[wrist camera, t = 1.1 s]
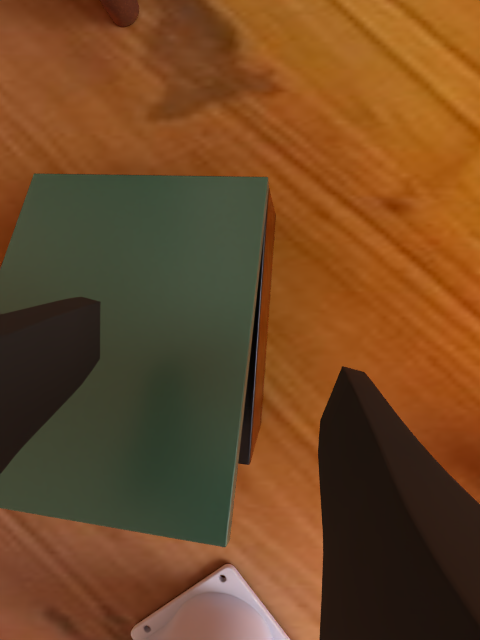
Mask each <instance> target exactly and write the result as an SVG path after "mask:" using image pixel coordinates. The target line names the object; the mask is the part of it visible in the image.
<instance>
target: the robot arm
mask: <svg viewBox="0 0 480 640" xmlns="http://www.w3.org/2000/svg"><path fill="white" fill-rule="evenodd" d="M100 303H101V302H100V301H96V300H92V299H88V298H85V297H74V298H68V299H63V300H59V301H54V302H50V303H46V304H42V305H38V306H33V307H29V308H25V309H21V310H17V311H13V312H9V313H4V314H0V474H1V473H2V472H3V470H4V469H5V468H6V467H7V465H8V464H9V463H10V461H11V460H12V459H13V458H14V456H15V455H16V454H17V453H18V452H19V451H20V450H21V448H22V447H23V446H24V445H25V444H26V443H27V442H28V441H29V440H30V439H31V438H32V436H33V435H34V434H35V433H36V432H37V431H38V430H39V429H40V428H41V427H42V426H43V425H44V424H45V423H46V422H47V421H48V420H49V419H50V418H51V417H52V416H53V415H54V414H55V413H56V411H57V410H58V409H59V408H60V407H61V406H62V405H63V404H64V403H65V402H66V401H67V400H68V399H69V398H70V397H71V396H72V395H73V394H74V392H75V391H76V390H77V389H78V388H79V387H80V386H81V385H82V384H83V382H84V381H85V379H86V378H87V377H88V375H89V374H90V373H91V371H92V370H93V368H94V367H95V365H96V364H97V362H98V361H99V360H100ZM318 459H319V477H320V493H321V509H322V525H323V577H322V602H321V622H320V640H480V504H479V503H478V502H477V501H476V500H475V499H474V498H472V497H471V496H470V495H469V494H468V493H467V492H466V491H465V490H464V489H463V488H462V487H461V486H460V485H459V484H458V483H457V482H456V481H455V480H454V479H453V478H452V477H451V476H450V475H449V474H448V473H447V472H446V471H445V470H444V469H443V467H442V466H441V465H440V464H439V463H438V462H437V461H436V460H435V459H434V458H433V457H432V455H431V454H430V453H429V452H428V451H427V450H426V449H425V448H424V446H423V445H422V444H421V443H420V442H419V441H418V440H417V438H416V437H415V436H414V435H413V434H412V432H411V431H410V430H409V429H408V428H407V426H406V425H405V424H404V423H403V421H402V420H401V419H400V418H399V416H398V415H397V414H396V412H395V411H394V410H393V409H392V407H391V406H390V405H389V403H388V402H387V401H386V399H385V398H384V397H383V395H382V394H381V393H380V391H379V390H378V389H377V387H376V386H375V385H374V384H373V382H372V381H371V380H370V378H369V377H368V376H367V375H366V374H365V372H362V371H358V370H354V369H351V368H347V367H343V366H342V369H341V371H340V374H339V376H338V378H337V381H336V383H335V386H334V388H333V391H332V393H331V396H330V398H329V401H328V403H327V406H326V408H325V410H324V413H323V415H322V418H321V420H320V432H319V447H318ZM220 575H224V576H225V578H223V577H221V576H220ZM148 626H149V627H148ZM131 637H132V639H133V640H290V638H289V637H288V636H287V634H286V633H285V632H284V631H283V629H282V628H281V627H280V625H279V624H278V623H277V621H276V620H275V619H274V618H273V616H272V615H271V614H270V612H269V611H268V610H267V608H266V607H265V606H264V605H263V603H262V602H261V601H260V599H259V598H258V597H257V595H256V594H255V593H254V592H253V590H252V589H251V588H250V586H249V585H248V584H247V582H246V581H245V580H244V579H243V577H242V576H241V575H240V573H239V572H238V571H237V569H236V568H235V567H234V566H233V565H231V564H225V565H224V566H222V567H221V568H219V569H218V570H216V571H215V572H213V573H212V574H210V575H209V576H207V577H206V578H204V579H203V580H201V581H200V582H198V583H197V584H196V585H194V586H193V587H191V588H190V589H188V590H187V591H185V592H184V593H182V594H181V595H179V596H178V597H176V598H175V599H173V600H172V601H170V602H169V603H167V604H166V605H164V606H163V607H162V608H160V609H159V610H157V611H156V612H154V613H153V614H151V615H150V616H148V617H147V618H145V619H144V620H142V621H141V622H139V623H138V624H136V625H135V626H134V627H133V629H132V631H131Z"/></svg>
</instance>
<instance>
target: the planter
mask: <svg viewBox="0 0 480 640" xmlns="http://www.w3.org/2000/svg"><path fill="white" fill-rule="evenodd" d="M100 2H101V3H102V5H103V7H104V8H105V10H106V11H107V13H108V14H109V16H110V17H111V19H112V20H113V22H114V23H115V24H117V25H118V26H122V27H124V26H128V25H131V24H132V23H133V22H134V21H135V20H136V18H137V16H138V13H139V5H138V2H137V0H100Z"/></svg>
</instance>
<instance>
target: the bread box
mask: <svg viewBox="0 0 480 640" xmlns="http://www.w3.org/2000/svg"><path fill="white" fill-rule="evenodd" d="M275 218H276V215H275V211H274V206H273V202H272V198H271V194H270V190H269V191H268V200H267V209H266V218H265V227H264V236H263V245H262V254H261V263H260V272H259V281H258V290H257V299H256V308H255V317H254V326H253V335H252V344H251V353H250V362H249V371H248V380H247V389H246V398H245V407H244V416H243V425H242V434H241V443H240V452H239V461H238V463H240V464H247V465H249V464H250V462H251V458H252V455H253V451H254V447H255V444H256V440H257V436H258V432H259V429H260V425H261V416H262V402H263V388H264V373H265V359H266V345H267V331H268V317H269V303H270V289H271V274H272V260H273V246H274V232H275Z"/></svg>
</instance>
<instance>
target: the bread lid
mask: <svg viewBox="0 0 480 640" xmlns="http://www.w3.org/2000/svg"><path fill="white" fill-rule="evenodd" d="M268 191H269V185H268V177H228V176H161V175H94V174H34V175H33V178H32V181H31V184H30V187H29V189H28V192H27V195H26V198H25V201H24V204H23V206H22V209H21V212H20V215H19V218H18V221H17V223H16V226H15V229H14V232H13V235H12V237H11V240H10V243H9V246H8V249H7V252H6V254H5V257H4V260H3V263H2V266H1V268H0V314H4V313H9V312H13V311H17V310H21V309H25V308H29V307H33V306H38V305H42V304H46V303H50V302H54V301H59V300H63V299H68V298H74V297H85V298H88V299H92V300H96V301H100V302H101V303H100V360H99V361H98V362H97V364H96V365H95V367H94V368H93V370H92V371H91V373H90V374H89V375H88V377H87V378H86V379H85V381H84V382H83V384H82V385H81V386H80V387H79V388H78V389H77V390H76V391H75V392H74V394H73V395H72V396H71V397H70V398H69V399H68V400H67V401H66V402H65V403H64V404H63V405H62V406H61V407H60V408H59V409H58V410H57V411H56V413H55V414H54V415H53V416H52V417H51V418H50V419H49V420H48V421H47V422H46V423H45V424H44V425H43V426H42V427H41V428H40V429H39V430H38V431H37V432H36V433H35V434H34V435H33V436H32V438H31V439H30V440H29V441H28V442H27V443H26V444H25V445H24V446H23V447H22V448H21V450H20V451H19V452H18V453H17V454H16V455H15V456H14V458H13V459H12V460H11V461H10V463H9V464H8V465H7V467H6V468H5V469H4V470H3V472H2V473H1V474H0V508H3V509H8V510H14V511H20V512H26V513H31V514H37V515H43V516H49V517H54V518H60V519H66V520H72V521H77V522H83V523H89V524H95V525H100V526H106V527H112V528H117V529H123V530H129V531H135V532H140V533H146V534H152V535H158V536H163V537H169V538H175V539H181V540H186V541H192V542H198V543H204V544H209V545H215V546H221V547H226V546H227V544H228V542H229V540H230V533H231V524H232V515H233V506H234V497H235V488H236V479H237V470H238V461H239V452H240V443H241V434H242V425H243V416H244V407H245V398H246V389H247V380H248V371H249V362H250V353H251V344H252V335H253V326H254V317H255V308H256V299H257V290H258V281H259V272H260V263H261V254H262V245H263V236H264V227H265V218H266V209H267V200H268Z"/></svg>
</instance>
